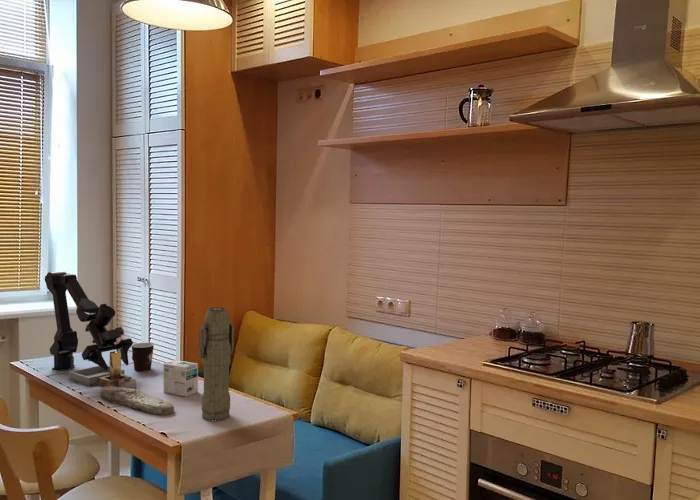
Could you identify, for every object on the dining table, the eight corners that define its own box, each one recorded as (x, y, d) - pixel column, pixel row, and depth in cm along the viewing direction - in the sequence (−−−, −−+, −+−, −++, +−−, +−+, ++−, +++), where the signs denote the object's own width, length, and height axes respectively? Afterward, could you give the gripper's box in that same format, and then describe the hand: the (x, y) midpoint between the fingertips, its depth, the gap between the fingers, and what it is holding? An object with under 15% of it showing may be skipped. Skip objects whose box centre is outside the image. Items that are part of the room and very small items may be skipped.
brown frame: (98, 384, 231) (98, 375, 230) (118, 379, 237) (118, 371, 237) (122, 391, 222) (122, 383, 222) (142, 386, 229) (142, 378, 229)
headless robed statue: (239, 415, 201) (240, 308, 199) (210, 424, 192) (211, 312, 190) (221, 409, 207) (222, 305, 204) (192, 417, 198) (193, 309, 195)
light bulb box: (198, 392, 225) (198, 362, 224) (186, 397, 218) (186, 367, 218) (175, 387, 229) (175, 359, 228) (162, 392, 223) (162, 363, 222)
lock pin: (107, 385, 230) (107, 353, 229) (112, 382, 234) (112, 350, 233) (118, 385, 229) (118, 353, 229) (122, 382, 233) (122, 351, 233)
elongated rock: (157, 423, 196) (181, 416, 204) (158, 407, 196) (183, 401, 204) (90, 396, 215) (115, 391, 223) (91, 381, 215) (116, 377, 223)
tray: (69, 379, 236) (69, 371, 235) (104, 371, 248) (104, 364, 248) (89, 385, 228) (89, 377, 228) (124, 377, 241) (124, 369, 240)
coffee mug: (145, 365, 259) (145, 341, 258) (158, 369, 254) (158, 344, 253) (120, 370, 250) (120, 346, 249) (133, 374, 245) (133, 349, 244)
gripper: (86, 324, 225) (104, 359, 219) (130, 317, 240) (148, 349, 234) (73, 342, 230) (91, 377, 224) (117, 334, 245) (135, 366, 239)
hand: (117, 367), depth 230 cm, fingers open, 8 cm apart
